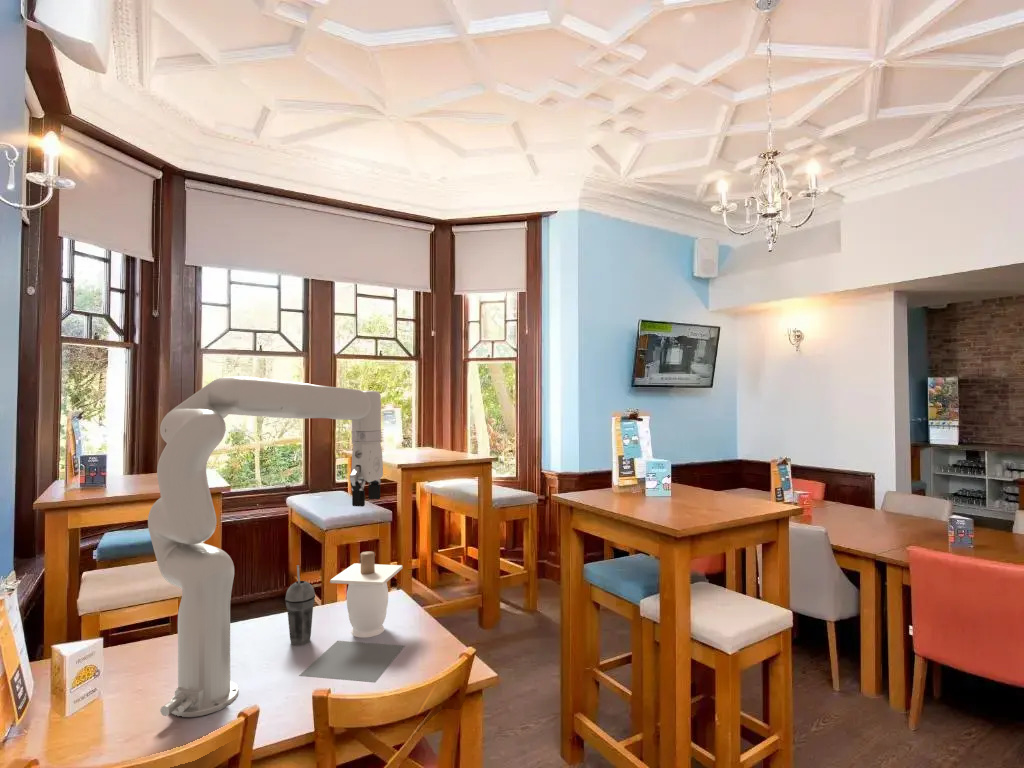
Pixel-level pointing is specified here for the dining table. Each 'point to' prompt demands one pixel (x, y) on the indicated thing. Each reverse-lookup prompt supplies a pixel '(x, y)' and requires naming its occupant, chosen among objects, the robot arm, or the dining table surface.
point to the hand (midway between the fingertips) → (366, 502)
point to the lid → (367, 572)
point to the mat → (353, 661)
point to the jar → (367, 609)
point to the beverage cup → (300, 611)
